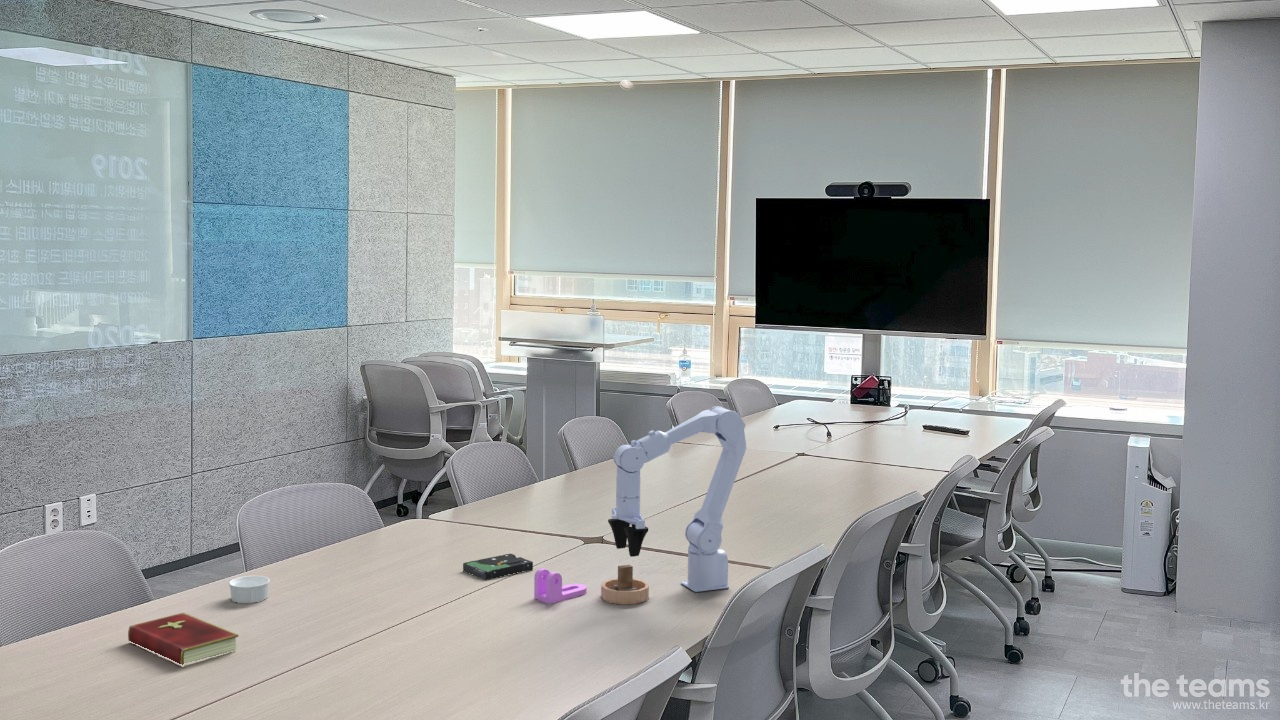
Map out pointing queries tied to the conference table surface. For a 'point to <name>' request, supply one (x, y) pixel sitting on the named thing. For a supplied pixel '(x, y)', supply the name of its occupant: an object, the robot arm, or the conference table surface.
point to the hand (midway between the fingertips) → (627, 552)
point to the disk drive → (497, 566)
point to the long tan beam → (625, 577)
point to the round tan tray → (624, 592)
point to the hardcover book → (182, 638)
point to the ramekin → (249, 589)
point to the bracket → (554, 587)
